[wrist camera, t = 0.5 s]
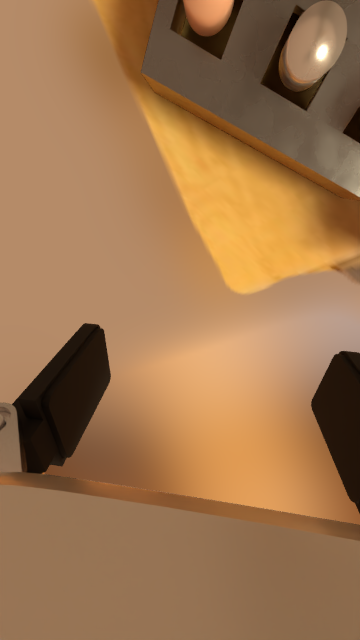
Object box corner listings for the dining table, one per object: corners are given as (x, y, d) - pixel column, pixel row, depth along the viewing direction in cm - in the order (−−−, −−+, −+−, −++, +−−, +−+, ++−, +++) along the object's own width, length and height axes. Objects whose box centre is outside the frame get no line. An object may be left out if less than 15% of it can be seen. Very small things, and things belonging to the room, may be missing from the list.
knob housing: (201, -76, 21) (198, -157, 16) (431, 77, 24) (489, 50, 19) (154, 92, 27) (140, 72, 22) (342, 197, 30) (368, 201, 25)
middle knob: (299, 13, 19) (312, -13, 16) (340, 40, 19) (360, 19, 17) (269, 77, 21) (277, 63, 18) (307, 100, 21) (320, 89, 19)
